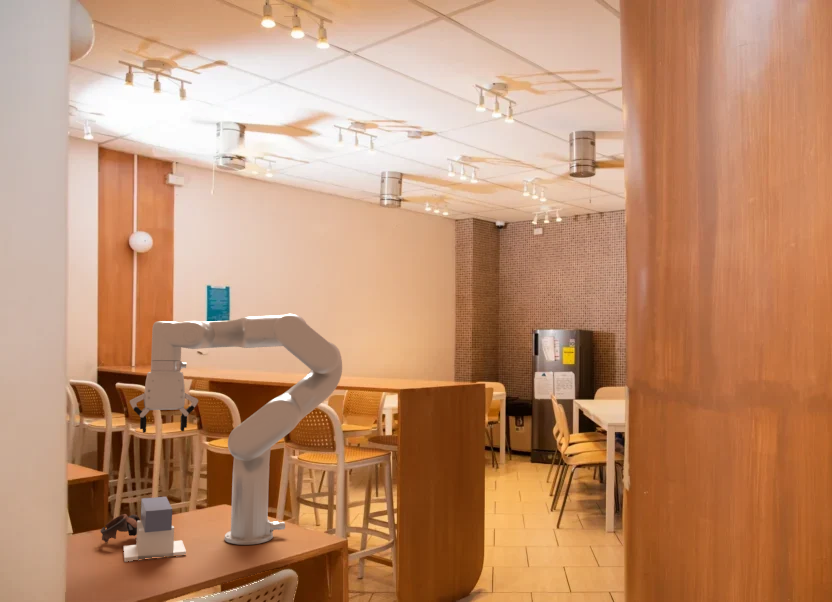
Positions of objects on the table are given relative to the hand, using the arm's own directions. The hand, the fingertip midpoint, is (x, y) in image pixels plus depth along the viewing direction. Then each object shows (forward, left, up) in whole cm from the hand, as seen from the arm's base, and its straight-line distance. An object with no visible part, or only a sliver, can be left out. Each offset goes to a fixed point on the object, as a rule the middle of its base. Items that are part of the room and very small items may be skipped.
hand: (163, 431), depth 186 cm
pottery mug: (+8, 0, -29) cm, 30 cm away
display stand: (+2, +12, -28) cm, 31 cm away
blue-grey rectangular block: (+2, +12, -21) cm, 24 cm away
